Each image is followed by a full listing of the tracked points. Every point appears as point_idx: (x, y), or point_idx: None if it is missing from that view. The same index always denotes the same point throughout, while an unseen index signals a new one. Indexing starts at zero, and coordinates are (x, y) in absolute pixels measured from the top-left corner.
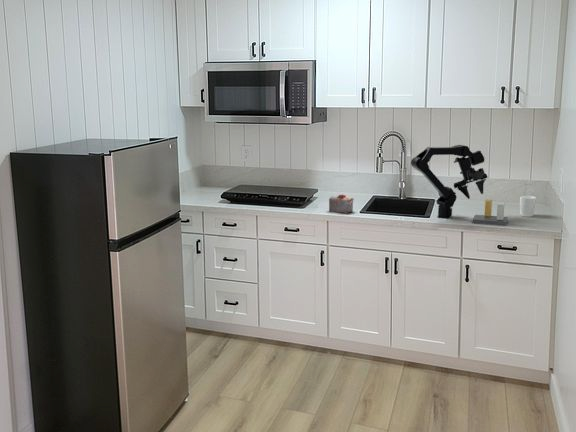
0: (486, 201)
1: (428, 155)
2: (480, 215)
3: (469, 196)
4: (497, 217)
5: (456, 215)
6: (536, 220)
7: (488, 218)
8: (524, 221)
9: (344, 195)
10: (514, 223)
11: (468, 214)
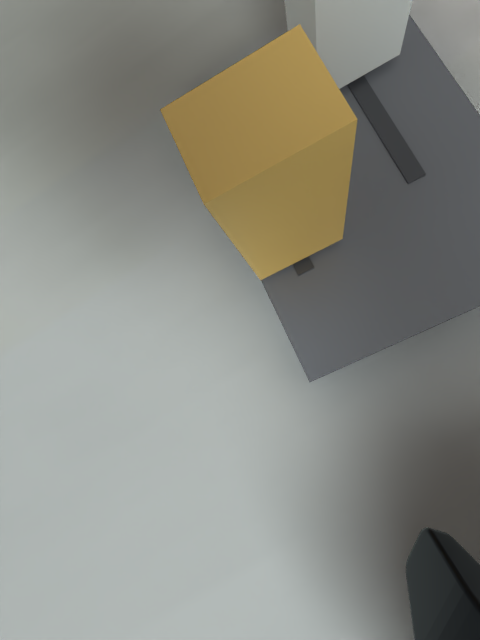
0: (346, 104)
1: None
2: (306, 314)
3: (454, 564)
4: (400, 26)
5: (334, 625)
6: (43, 12)
7: (378, 168)
8: (123, 35)
9: None
10: (238, 32)
11: (197, 532)
